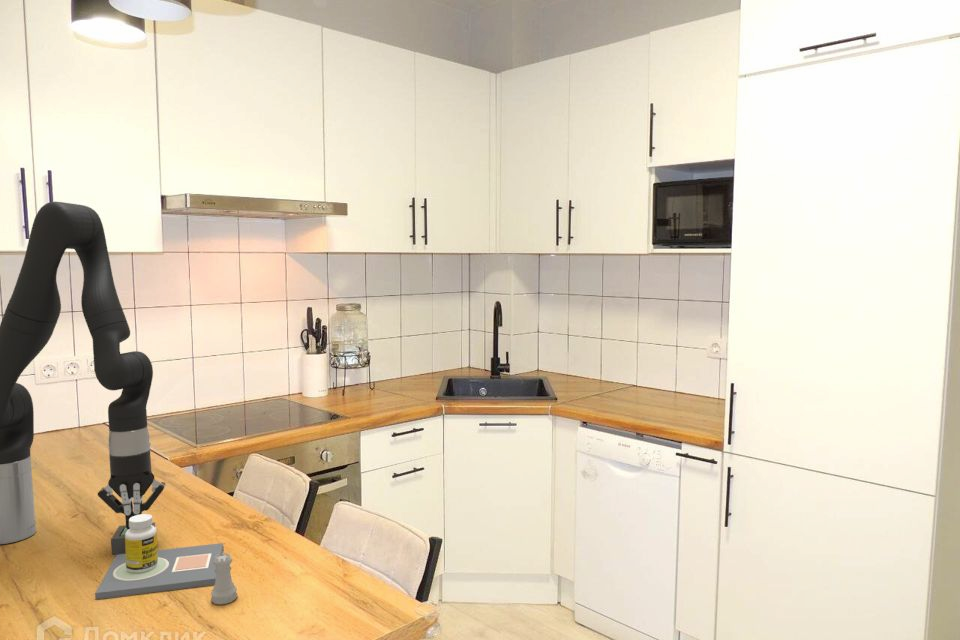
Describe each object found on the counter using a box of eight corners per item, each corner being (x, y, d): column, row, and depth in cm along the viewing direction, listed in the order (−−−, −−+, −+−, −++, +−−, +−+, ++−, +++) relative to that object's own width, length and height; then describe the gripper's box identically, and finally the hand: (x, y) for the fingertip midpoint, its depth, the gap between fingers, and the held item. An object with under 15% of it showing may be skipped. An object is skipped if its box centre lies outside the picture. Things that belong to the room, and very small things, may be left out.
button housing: (111, 555, 138) (110, 539, 138) (120, 541, 145) (119, 525, 145) (149, 551, 140) (148, 535, 140) (155, 538, 147) (155, 522, 147)
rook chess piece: (215, 593, 123) (213, 551, 122) (240, 592, 124) (238, 550, 123) (207, 606, 119) (205, 562, 118) (233, 605, 119) (231, 561, 118)
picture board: (95, 599, 121) (94, 592, 121) (117, 560, 136) (116, 553, 136) (215, 584, 126) (215, 577, 126) (223, 548, 142) (223, 542, 142)
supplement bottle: (144, 575, 127) (142, 524, 126) (119, 572, 128) (117, 521, 127) (164, 562, 132) (162, 513, 131) (140, 559, 134) (138, 511, 133)
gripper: (88, 457, 135) (94, 541, 137) (161, 451, 139) (166, 533, 141) (98, 447, 142) (104, 527, 144) (167, 441, 146) (171, 520, 148)
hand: (134, 530), depth 142 cm, fingers closed
